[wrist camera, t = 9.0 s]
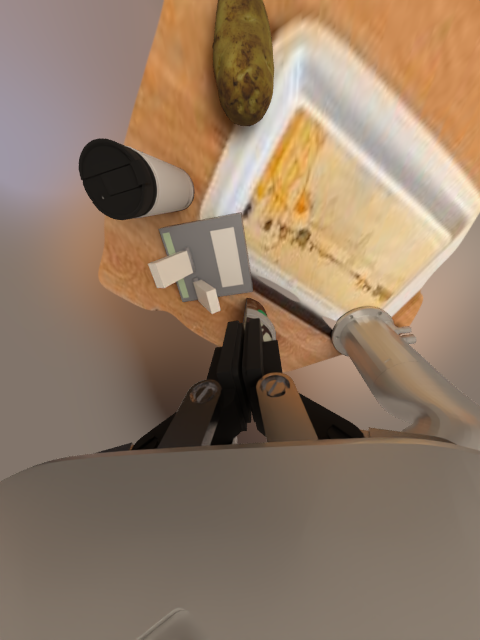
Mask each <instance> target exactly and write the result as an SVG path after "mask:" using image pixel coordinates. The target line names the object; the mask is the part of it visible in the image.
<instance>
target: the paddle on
mask: <svg viewBox="0 0 480 640" xmlns="http://www.w3.org/2000/svg"><path fill="white" fill-rule="evenodd" d="M184 250H185V251H179V252H176V253H174V254H171V255H169V256H166V257H164V258H161V259H159V260H156V261H154V262H151V263H149V264H148V265H149V268H150V270H151V273H152V276H153V278H154V281H155V284H156V286H157V288H165V287H167V286H169V285H171V284H173V283H175V282H177V281H178V280H180V279H182V278H184V277H186V276H188V275H190V274H191V273H195V272H196V270H195V266H194V262H193V259H192V255H191V252H190V248H189V247H185V248H184Z"/></svg>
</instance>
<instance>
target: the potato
mask: <svg viewBox="0 0 480 640" xmlns="http://www.w3.org/2000/svg"><path fill="white" fill-rule="evenodd" d="M213 67H214V75H215V79H216V83H217V87H218V92H219V98H220V102H221V105H222V108H223V110H224V112H225V113H226V115H227V116H228V118H229V119H230V120H231V121H232V122H234V124H235V123H236V124H238V125H241V126H251V125H254V124H256V123H257V122H259V121H260V120H261V119H262V118H263V116H264V115H265V113H266V111H267V109H268V107H269V105H270V102H271V99H272V94H273V79H274V62H273V47H272V37H271V32H270V26H269V21H268V16H267V13H266V10H265V6H264V4H263V1H262V0H218V4H217V12H216V22H215V34H214V43H213Z"/></svg>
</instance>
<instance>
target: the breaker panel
mask: <svg viewBox="0 0 480 640" xmlns="http://www.w3.org/2000/svg"><path fill="white" fill-rule="evenodd" d="M159 231H160V235H161V238H162V241H163V244H164V247H165V250H166V253H167V256H169V255H171V254H174V253H176V252H179V251H185V250H184V248H185V247H189V248H190V252H191V255H192V259H193V262H194V266H195V270H196V272H195V273H191V274H190V275H188V276H186V277H184V278H182V279H180V280H178V281H177V282H176V283H177V286H178V289H179V293H180V296H181V299H182V302H186V301H193V300H198V297H197V294H196V290H195V287H194V284H193V282H194V281H193V278H195V277H198V281H199V280H203V281H204V282H206V283H207V284H209V285H210V286H212V287H213V288H215V289H216V293H217V297H220V296H227V295H234V294H241V293H248V292H253V285H252V279H251V272H250V265H249V259H248V252H247V246H246V239H245V233H244V226H243V220H242V213H241V212H240V213H235V214H230V215H225V216H219V217H214V218H209V219H204V220H198V221H193V222H188V223H183V224H177V225H172V226H167V227H163V228H160V229H159Z"/></svg>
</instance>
